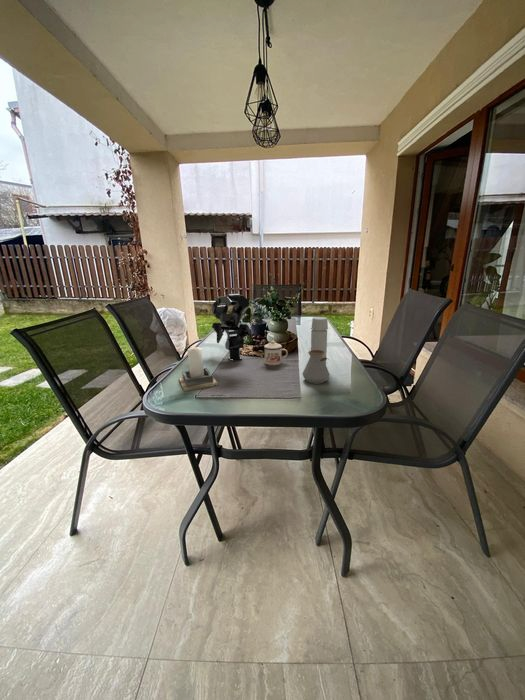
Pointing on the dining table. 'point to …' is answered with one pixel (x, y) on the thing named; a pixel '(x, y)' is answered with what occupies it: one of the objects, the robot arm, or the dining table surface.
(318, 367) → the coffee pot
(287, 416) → the dining table surface
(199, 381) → the roll holder
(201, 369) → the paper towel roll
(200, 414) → the dining table surface
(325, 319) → the water bottle
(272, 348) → the teacup with lid
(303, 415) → the dining table surface
